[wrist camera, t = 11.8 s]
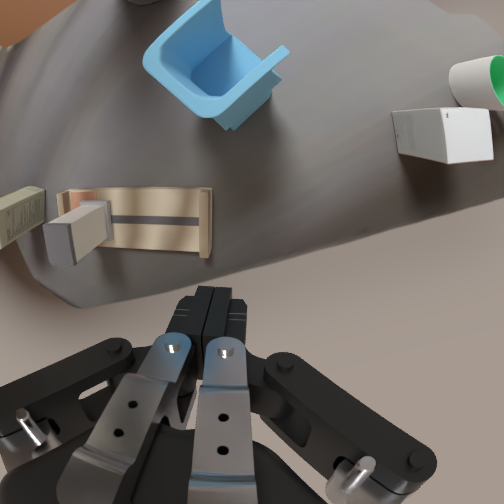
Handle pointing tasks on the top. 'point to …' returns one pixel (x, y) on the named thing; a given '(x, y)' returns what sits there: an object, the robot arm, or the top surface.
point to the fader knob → (78, 232)
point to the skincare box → (20, 213)
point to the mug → (479, 83)
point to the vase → (212, 67)
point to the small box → (444, 134)
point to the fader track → (152, 216)
